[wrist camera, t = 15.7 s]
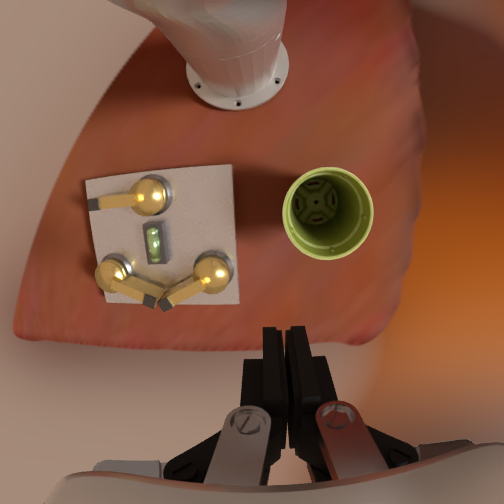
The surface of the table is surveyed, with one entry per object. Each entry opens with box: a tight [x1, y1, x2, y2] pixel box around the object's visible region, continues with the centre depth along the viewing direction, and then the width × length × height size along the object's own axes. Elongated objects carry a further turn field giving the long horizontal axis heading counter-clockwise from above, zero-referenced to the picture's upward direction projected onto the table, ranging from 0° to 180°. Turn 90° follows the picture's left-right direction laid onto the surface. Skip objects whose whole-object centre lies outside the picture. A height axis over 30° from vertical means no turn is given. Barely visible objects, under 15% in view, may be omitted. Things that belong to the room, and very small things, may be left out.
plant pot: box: [282, 167, 373, 260], centre depth 32 cm, size 9×9×9 cm
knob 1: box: [95, 258, 164, 309], centre depth 36 cm, size 10×4×3 cm, turn 69°
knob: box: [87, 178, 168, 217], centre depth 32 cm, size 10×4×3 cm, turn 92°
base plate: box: [85, 164, 240, 304], centre depth 36 cm, size 18×20×4 cm
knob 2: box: [157, 255, 230, 312], centre depth 36 cm, size 10×4×3 cm, turn 120°
